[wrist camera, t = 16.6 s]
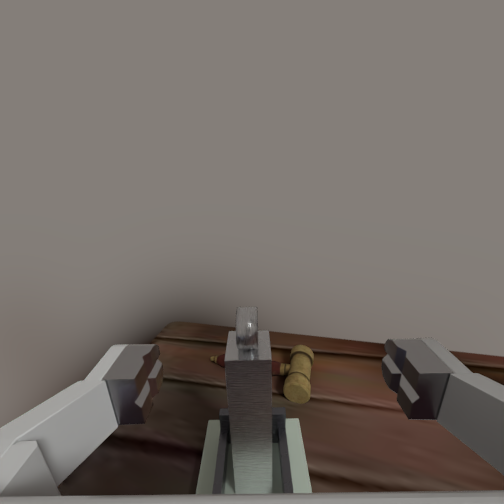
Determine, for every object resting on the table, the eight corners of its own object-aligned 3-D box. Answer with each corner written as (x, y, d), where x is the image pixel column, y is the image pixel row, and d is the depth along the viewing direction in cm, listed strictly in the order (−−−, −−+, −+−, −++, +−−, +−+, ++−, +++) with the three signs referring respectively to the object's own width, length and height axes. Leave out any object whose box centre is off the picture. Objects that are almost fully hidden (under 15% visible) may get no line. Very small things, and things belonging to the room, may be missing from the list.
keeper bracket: (322, 560, 25) (326, 520, 23) (186, 562, 25) (177, 522, 23) (298, 425, 38) (299, 391, 36) (209, 426, 39) (205, 393, 36)
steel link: (272, 494, 29) (271, 323, 21) (235, 494, 29) (221, 324, 22) (270, 453, 33) (268, 298, 26) (237, 454, 33) (226, 299, 26)
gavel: (197, 367, 47) (219, 334, 56) (201, 386, 48) (221, 351, 57) (309, 386, 40) (313, 345, 49) (310, 407, 42) (314, 364, 51)
